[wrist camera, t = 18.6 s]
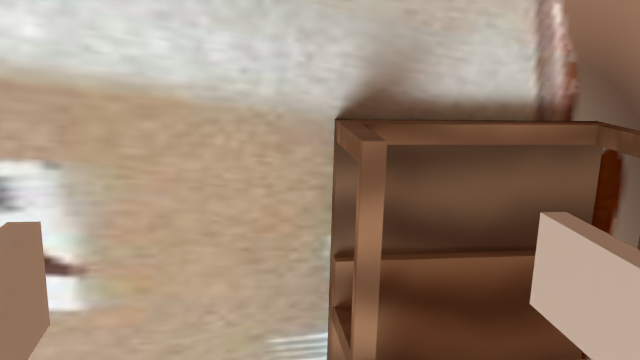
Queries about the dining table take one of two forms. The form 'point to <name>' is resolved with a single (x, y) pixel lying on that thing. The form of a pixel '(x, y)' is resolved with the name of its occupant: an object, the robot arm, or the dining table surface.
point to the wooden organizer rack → (453, 233)
